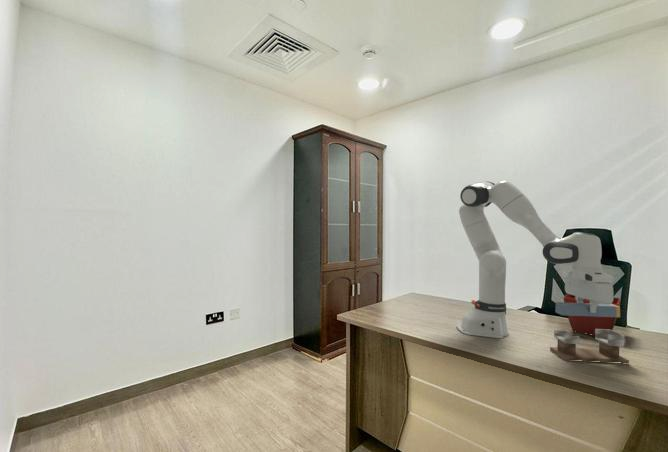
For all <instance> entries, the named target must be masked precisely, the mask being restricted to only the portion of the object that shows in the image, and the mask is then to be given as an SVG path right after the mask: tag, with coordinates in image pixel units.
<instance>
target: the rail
mask: <svg viewBox="0 0 668 452" xmlns="http://www.w3.org/2000/svg"><path fill="white" fill-rule="evenodd" d="M554 304H555V313H556V314H558V315H560V316H567V317H568V316H596V317H617V318H621V306H616V305H613V304H599V305H598V306H597V308H596V313H591V312H589V311H588V307H590V305H591V303H564V301H563V302H561V301H560V302H558V301H557V302H556V301H555V303H554Z"/></svg>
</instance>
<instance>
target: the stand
mask: <svg viewBox="0 0 668 452" xmlns="http://www.w3.org/2000/svg"><path fill="white" fill-rule="evenodd" d="M569 331H570V330H562V329H560V330H559V329H554V330H553V337H554V338H555V339H556V340H557V347H555V346H549V347H550V348H549V351H550V352H551V351H552V352H551V353H553V354H554V353H555V354H554V355H556V356H557V355H558V356H557V357H559V356H560V357H561V358H560V357H559V358H560V359H562V358H563V359H564V360H563V359H562V360H563V361H565V360H582V361H600V362H621V363H629V364H630V360H629V359H628V358H625V357H623V356H621V355H620V347H624V346H625V345H626V335H625V334H623V333H620V332H618V331H615V330H608V329H595V336H594V337H595V338H594V339H595V340H597V342H599V343H598V344H599V345H598V346H599V347H598V348H599V349H596V348H595V349H593V348H592V349H591V348H578V347H576V345H580V342H581V341H580V336H579V335H569Z"/></svg>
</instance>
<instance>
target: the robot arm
mask: <svg viewBox="0 0 668 452" xmlns="http://www.w3.org/2000/svg"><path fill="white" fill-rule="evenodd" d="M460 200H461V203H462V205H461V206H460V207H459V209H458V213H459V218H460V222H461V224H462V227H463V229H464V231H465V233H466V236H467V239H468V241H469V243H470V245H471V247H472V249H473V252H474V254H475V256H476V257H477V260H478V300H474V299H472V300H471V304H472V305H474V308H472V309H470V310H469V311H467V312H466V313H464V314H463V315H462V317H461V322H460V323H457V324H456V329H457V330H458V331H459V332H461V333H463V334H465V335H469V336H478V337H484V338H485V337H486V338H494V339H495V338H496V339H503V338H505V337H506V336H509V334H510V332H509V330H508V324H507V318H506V314H507V303H506V276H507V259H506V258H505V255H503V252H502V250H501V248H500V246H499V244H498V241H497V238H496V236H495V234H494V232H493V229H492V227H491V225H490V223H489V221H488V219H487V217H486V214H485V212H484V209H485V208H487V207H489V206H490V205H491V204H492V203H493V204H494V205H495V206H496V207H498V209H499V210H500V212H502V213H503V214H504V215H505V216H506V217H507V218H508V219H509V220H510V221H511V222H513V223H515V224H518V225H520V226H521V227H523V228H525V229H526V230H528V231H529V232H530V234H532V235H533V237H535V239H536V240H537V241H538V242H539V244H541V246H542V247H543V248H542V256H543V258H544V259H545V260H546V261H547V262H548V263H551V264H554V265H563V264H571V270H570V271H568V273H567V276H566V278H565V282H564V291H565V293H566V294H571V295H574V296H575V299H576V301H577V303H583V299H587V300H590V303H591V305H590V307H588V311H589V312H591V313H596V308H597V306H598V305H599V303H600V304H611V303H612V302H613V297H614V286H613V285H612V283H614V277H613V276H612V275H610V274H608V273H607V272H605V270H603V266H602V263H601V260H602V255H603V254H602V253H603V251H602V249H603V248H602V243H601V242H602V241H601V239H600V237H599V236H597V235H596V234H594V233H588V232H584V231H583V232H582V231H576V232H573V233H572V234H570V235H568V236H565V237H562V238H560V237H559V236H557V235H556V234H555V233H554V232H553V231H552V230H551V229H550V228H549V227H548V226H547V225H546V224H545V223H544V222H543V220H542V219H541V218H540V216H539V215H538V212H537V210H536V208H535V207H534V205H533V204H532V202H531V200H530V199H529V198H528V197H527V196H526V195H525V194H524V193H523V192H522V191H521V190H520V189H519V188H517V186H515V185H514V184H512V182H509V181H508V180H501V181H497V182H496V183H494V182H491V181H478V182H475V183H472V184H469V185H466V186H465V187H463V189H462V190H461V192H460Z"/></svg>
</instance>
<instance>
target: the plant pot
mask: <svg viewBox="0 0 668 452" xmlns="http://www.w3.org/2000/svg"><path fill="white" fill-rule="evenodd" d="M621 300H622V298H620V297H614V296H613V302H612V303H611V304H613V305H616V306H620V305H621ZM563 302H564V303H577V301H576V299H575V296H574V295H571V294H568V293H566V294H565V295H564V296H563ZM583 303H590V300H587V299H583ZM599 304H600V303H599ZM620 307H621V306H620ZM567 318H568V319H567V320H568V321H569V325H570V327H571V329H572V332H574V331H576V332H575V333H578V332H581V333H580V334H583V333H587V334H592V335H595V329H608V330H613V329H614V328H615V325H616V322H617V318H618V317H596V316H567ZM613 331H614V330H613ZM587 334H586V335H587ZM592 335H591V336H592Z"/></svg>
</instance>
